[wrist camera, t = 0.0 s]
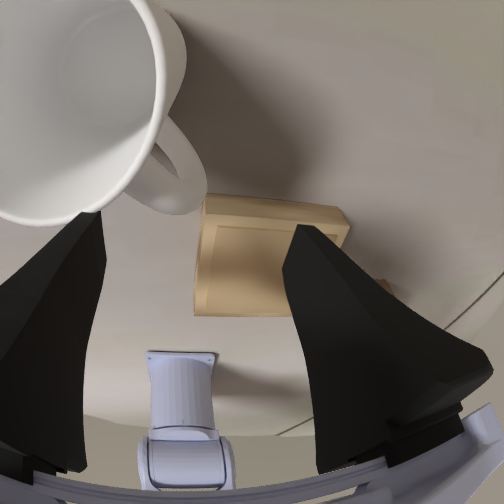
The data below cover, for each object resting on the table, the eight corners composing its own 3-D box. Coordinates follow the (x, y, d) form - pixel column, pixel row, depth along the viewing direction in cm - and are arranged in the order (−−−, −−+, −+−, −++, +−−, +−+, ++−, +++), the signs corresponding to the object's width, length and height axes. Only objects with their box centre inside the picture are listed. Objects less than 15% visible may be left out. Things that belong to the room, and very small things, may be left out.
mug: (254, 116, 17) (308, 201, 9) (152, 193, 19) (126, 319, 11) (131, -26, 10) (53, -83, 2) (32, 74, 12) (-86, 131, 4)
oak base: (299, 295, 29) (307, 317, 27) (193, 293, 26) (194, 317, 24) (337, 207, 22) (351, 228, 20) (204, 193, 20) (205, 215, 18)
